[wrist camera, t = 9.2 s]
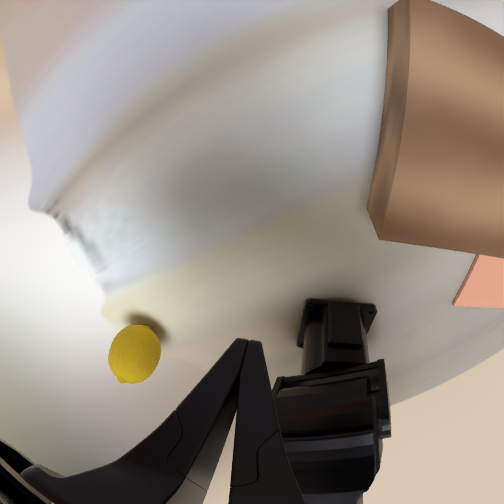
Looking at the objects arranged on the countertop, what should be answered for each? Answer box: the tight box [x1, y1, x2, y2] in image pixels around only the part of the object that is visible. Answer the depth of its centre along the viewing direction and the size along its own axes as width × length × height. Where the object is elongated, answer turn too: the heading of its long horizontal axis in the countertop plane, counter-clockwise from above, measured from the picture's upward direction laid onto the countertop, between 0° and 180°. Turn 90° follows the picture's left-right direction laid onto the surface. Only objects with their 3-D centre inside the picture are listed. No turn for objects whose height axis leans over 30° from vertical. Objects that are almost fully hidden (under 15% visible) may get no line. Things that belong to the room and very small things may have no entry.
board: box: [367, 0, 504, 259], centre depth 12 cm, size 14×11×4 cm
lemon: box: [108, 325, 161, 384], centre depth 27 cm, size 6×6×8 cm
